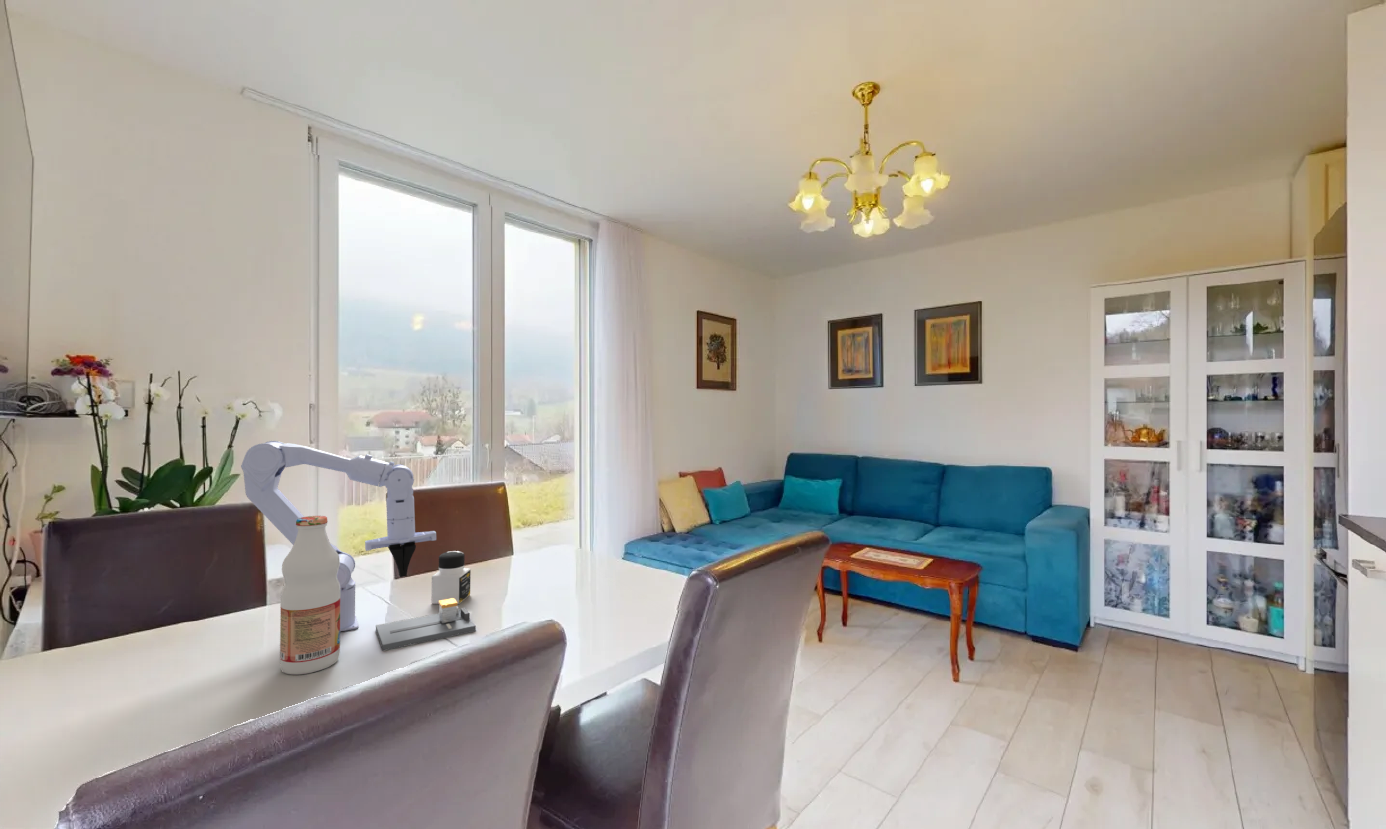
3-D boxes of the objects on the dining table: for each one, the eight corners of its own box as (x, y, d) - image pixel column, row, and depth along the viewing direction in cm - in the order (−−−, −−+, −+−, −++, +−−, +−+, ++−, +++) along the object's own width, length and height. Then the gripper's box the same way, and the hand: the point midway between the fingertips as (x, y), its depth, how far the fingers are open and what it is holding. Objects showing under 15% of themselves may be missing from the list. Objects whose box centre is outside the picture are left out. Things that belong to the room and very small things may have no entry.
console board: (382, 650, 112) (383, 636, 112) (375, 630, 122) (376, 617, 121) (475, 631, 122) (475, 617, 122) (462, 614, 132) (462, 601, 132)
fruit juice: (266, 671, 102) (268, 520, 102) (314, 650, 111) (315, 511, 111) (306, 679, 100) (308, 524, 99) (351, 656, 109) (353, 515, 108)
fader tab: (441, 623, 122) (442, 605, 122) (438, 618, 125) (438, 600, 125) (457, 620, 124) (457, 602, 124) (453, 615, 127) (453, 598, 127)
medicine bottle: (459, 604, 138) (460, 556, 138) (430, 604, 138) (431, 556, 138) (470, 595, 145) (471, 549, 145) (443, 594, 145) (443, 549, 145)
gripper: (366, 525, 121) (368, 586, 121) (438, 516, 129) (440, 573, 130) (363, 519, 127) (365, 578, 127) (432, 511, 135) (433, 566, 135)
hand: (402, 575), depth 129 cm, fingers closed
